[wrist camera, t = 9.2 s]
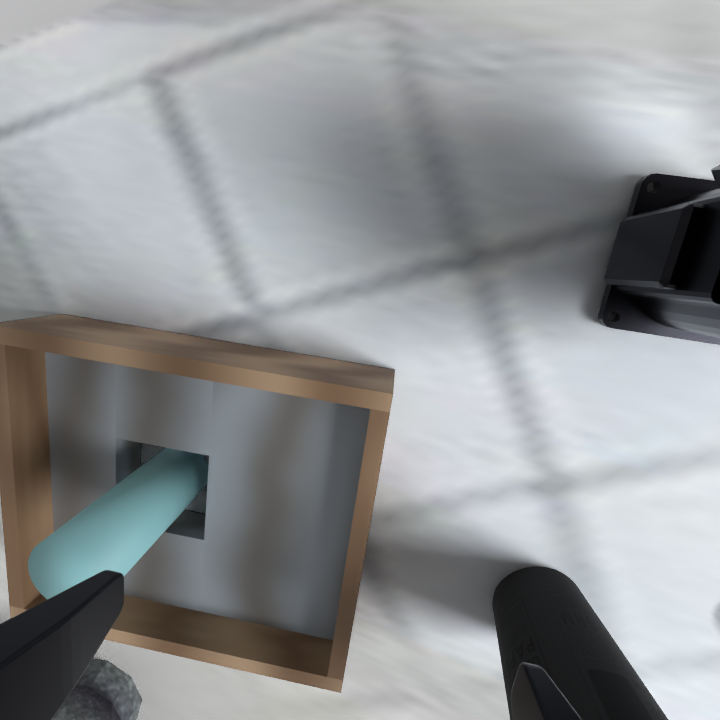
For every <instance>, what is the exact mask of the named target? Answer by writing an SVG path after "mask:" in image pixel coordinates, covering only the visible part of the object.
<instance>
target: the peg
mask: <svg viewBox="0 0 720 720" xmlns="http://www.w3.org/2000/svg"><path fill="white" fill-rule="evenodd" d="M207 482H208V464H207V462H206V460H205V458H204V457H203V456H202V455H201V454H197V453H192V452H187V451H182V450H176V449H171V448H164V449H163V450H161V451H160V452H159V453H157V454H156V455H155V456H154V457H152V458H151V459H150V460H148V461H147V462H146V463H144V464H143V465H142V466H140V467H139V468H138V469H136V470H135V471H134V472H132V473H131V474H130V475H128V476H127V477H126V478H125V479H123V480H122V481H121V482H119V483H118V484H117V485H115V486H114V487H113V488H111V489H110V490H109V491H107V492H106V493H105V494H103V495H102V496H101V497H100V498H98V499H97V500H96V501H94V502H93V503H92V504H90V505H89V506H88V507H86V508H85V509H84V510H82V511H81V512H80V513H78V514H77V515H76V516H74V517H73V518H72V519H71V520H69V521H68V522H67V523H65V524H64V525H63V526H61V527H60V528H59V529H57V530H56V531H55V532H53V533H52V534H51V535H49V536H48V537H47V538H45V539H44V540H43V541H42V542H40V543H39V544H38V545H37V546H35V547H34V549H33V550H32V552H31V553H30V556H29V560H28V570H29V575H30V578H31V580H32V582H33V584H34V586H35V587H36V588H37V590H38V591H39V592H40V593H41V594H42V595H43V596H44V597H45V598H46V599H49V598H51V597H53V596H55V595H57V594H59V593H61V592H63V591H65V590H67V589H69V588H71V587H73V586H74V585H76V584H78V583H80V582H82V581H84V580H86V579H88V578H90V577H92V576H94V575H96V574H98V573H100V572H102V571H104V570H110V571H115V572H119V573H122V574H123V576H125V575H126V574H127V573H128V572H129V570H130V569H131V568H132V567H133V566H134V565H135V564H136V563H137V562H138V560H139V559H140V558H141V557H142V556H143V555H144V554H145V553H146V552H147V550H148V549H149V548H150V547H151V546H152V545H153V544H154V543H155V542H156V541H157V539H158V538H159V537H160V536H161V535H162V534H163V533H164V532H165V531H166V529H167V528H168V527H169V526H170V525H171V524H172V523H173V522H174V521H175V519H176V518H177V517H178V516H179V515H180V514H181V513H182V512H183V511H184V509H185V508H186V507H187V506H188V505H189V504H190V503H191V502H192V501H193V499H194V498H195V497H196V496H197V495H198V494H199V493H200V492H201V491H202V489H203V488H204V487H205V486H206V484H207Z"/></svg>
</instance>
